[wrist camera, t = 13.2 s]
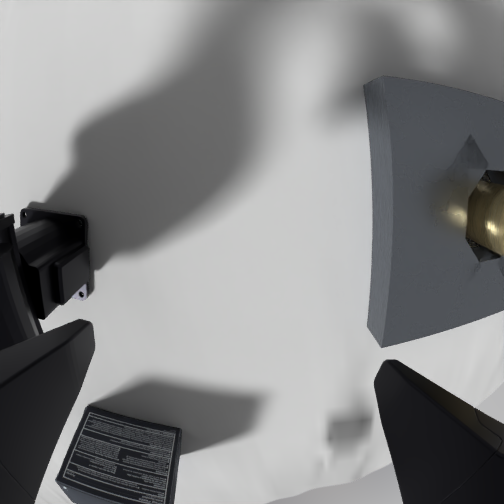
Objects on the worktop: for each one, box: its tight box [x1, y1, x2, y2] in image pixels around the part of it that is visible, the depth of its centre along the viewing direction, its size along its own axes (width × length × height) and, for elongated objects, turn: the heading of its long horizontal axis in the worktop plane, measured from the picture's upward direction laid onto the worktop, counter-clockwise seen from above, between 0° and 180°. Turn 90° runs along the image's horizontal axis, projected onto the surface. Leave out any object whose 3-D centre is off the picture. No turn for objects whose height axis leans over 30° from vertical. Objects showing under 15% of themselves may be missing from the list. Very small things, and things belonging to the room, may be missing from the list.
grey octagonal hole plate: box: [363, 76, 504, 348], centre depth 18 cm, size 20×18×3 cm
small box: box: [55, 406, 182, 504], centre depth 21 cm, size 11×6×10 cm, turn 79°
